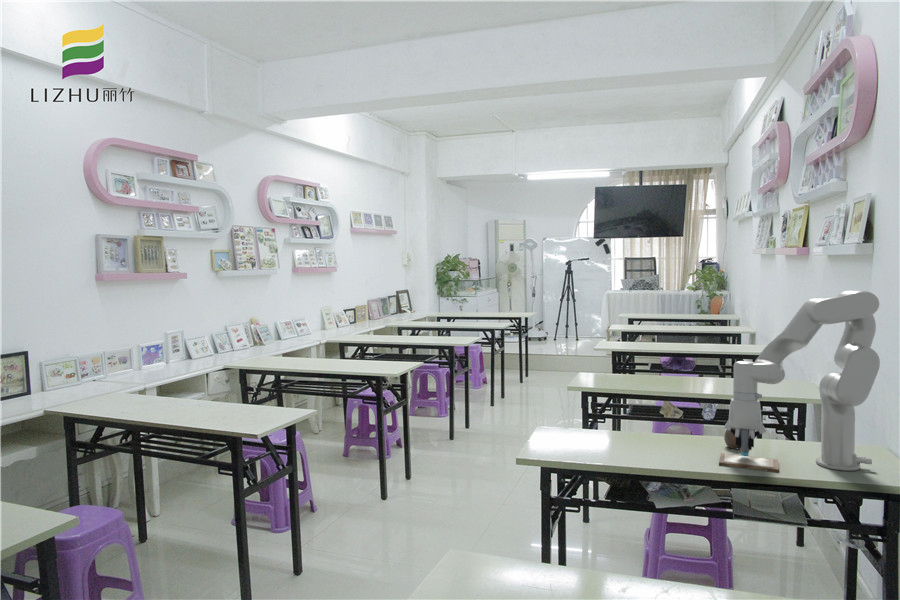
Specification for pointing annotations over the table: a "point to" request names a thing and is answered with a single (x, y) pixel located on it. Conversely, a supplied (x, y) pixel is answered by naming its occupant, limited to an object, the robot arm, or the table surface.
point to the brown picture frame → (749, 462)
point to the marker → (744, 442)
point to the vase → (730, 439)
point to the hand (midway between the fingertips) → (744, 447)
